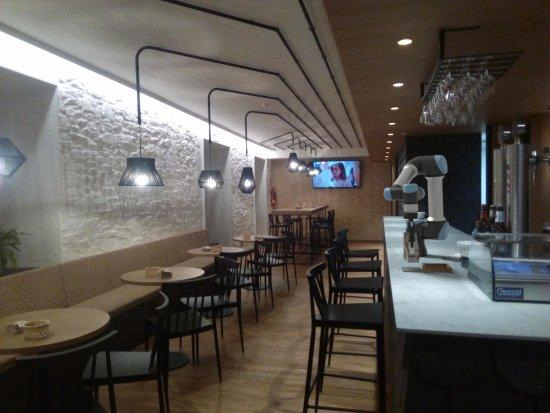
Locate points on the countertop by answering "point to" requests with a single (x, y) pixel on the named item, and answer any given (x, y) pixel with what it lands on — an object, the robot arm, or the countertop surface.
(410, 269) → the slate mat
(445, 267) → the walnut collar
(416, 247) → the coffee box
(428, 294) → the countertop surface
